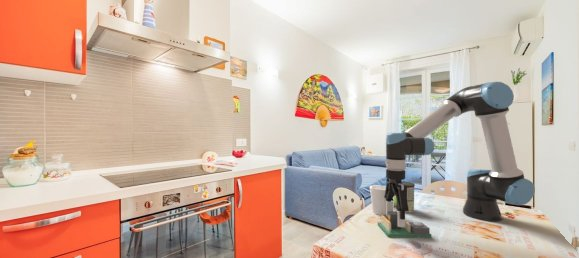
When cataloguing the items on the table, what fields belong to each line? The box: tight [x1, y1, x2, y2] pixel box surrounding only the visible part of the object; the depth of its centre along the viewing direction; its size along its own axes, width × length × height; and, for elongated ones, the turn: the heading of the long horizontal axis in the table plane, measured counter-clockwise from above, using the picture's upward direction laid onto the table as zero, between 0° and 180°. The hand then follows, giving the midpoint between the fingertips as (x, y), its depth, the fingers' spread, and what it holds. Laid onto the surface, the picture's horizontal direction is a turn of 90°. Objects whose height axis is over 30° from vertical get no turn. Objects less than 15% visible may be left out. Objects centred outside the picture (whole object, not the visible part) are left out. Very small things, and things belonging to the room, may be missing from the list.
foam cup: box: [369, 184, 386, 216], centre depth 126 cm, size 10×9×13 cm
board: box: [377, 215, 432, 238], centre depth 103 cm, size 17×12×5 cm
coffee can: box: [393, 180, 416, 214], centre depth 131 cm, size 10×10×14 cm
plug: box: [386, 210, 401, 229], centre depth 104 cm, size 4×4×6 cm
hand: (395, 221), depth 104 cm, fingers open, 11 cm apart
